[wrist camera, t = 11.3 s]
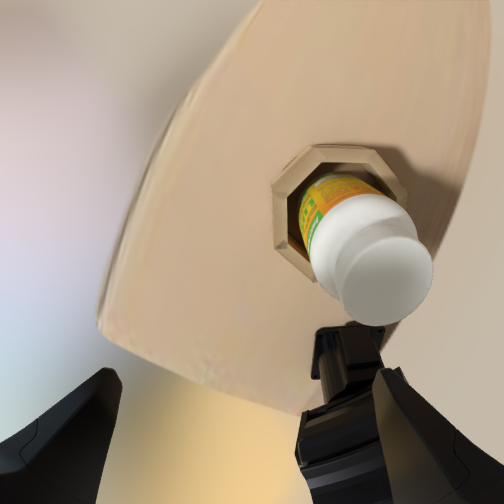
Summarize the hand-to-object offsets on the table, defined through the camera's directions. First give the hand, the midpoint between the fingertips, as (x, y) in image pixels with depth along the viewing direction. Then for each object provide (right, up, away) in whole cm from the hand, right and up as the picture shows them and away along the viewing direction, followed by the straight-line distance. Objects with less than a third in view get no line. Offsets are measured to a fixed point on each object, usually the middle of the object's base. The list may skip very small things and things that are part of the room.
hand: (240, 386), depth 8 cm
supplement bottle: (+6, +7, +10) cm, 14 cm away
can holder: (+6, +7, +11) cm, 14 cm away
